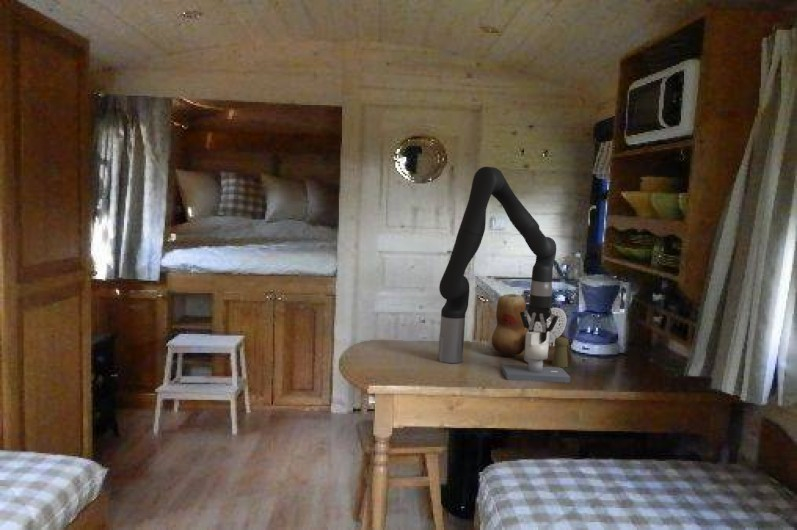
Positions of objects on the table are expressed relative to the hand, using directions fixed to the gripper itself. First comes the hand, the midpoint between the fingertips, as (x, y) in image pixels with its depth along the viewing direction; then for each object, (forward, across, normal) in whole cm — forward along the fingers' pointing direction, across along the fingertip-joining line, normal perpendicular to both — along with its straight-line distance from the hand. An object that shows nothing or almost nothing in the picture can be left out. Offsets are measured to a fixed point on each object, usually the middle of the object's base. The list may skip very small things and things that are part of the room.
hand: (537, 341), depth 218 cm
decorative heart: (+13, -10, +47) cm, 50 cm away
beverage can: (+13, -6, +18) cm, 23 cm away
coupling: (+6, 0, 0) cm, 6 cm away
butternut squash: (+13, -17, +22) cm, 30 cm away
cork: (+13, +4, +20) cm, 25 cm away
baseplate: (+13, 0, 0) cm, 13 cm away
